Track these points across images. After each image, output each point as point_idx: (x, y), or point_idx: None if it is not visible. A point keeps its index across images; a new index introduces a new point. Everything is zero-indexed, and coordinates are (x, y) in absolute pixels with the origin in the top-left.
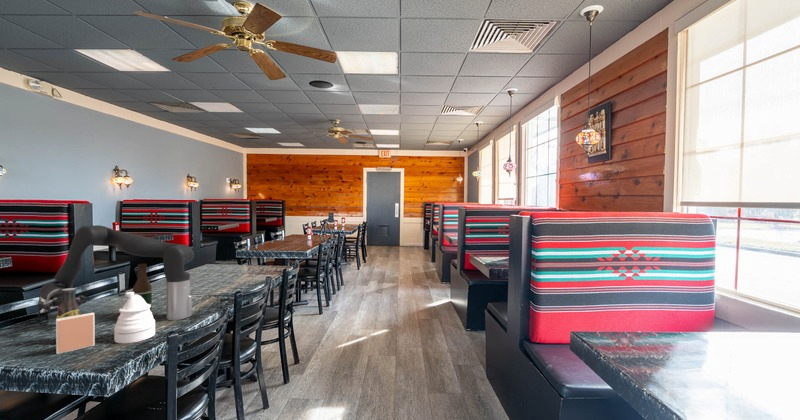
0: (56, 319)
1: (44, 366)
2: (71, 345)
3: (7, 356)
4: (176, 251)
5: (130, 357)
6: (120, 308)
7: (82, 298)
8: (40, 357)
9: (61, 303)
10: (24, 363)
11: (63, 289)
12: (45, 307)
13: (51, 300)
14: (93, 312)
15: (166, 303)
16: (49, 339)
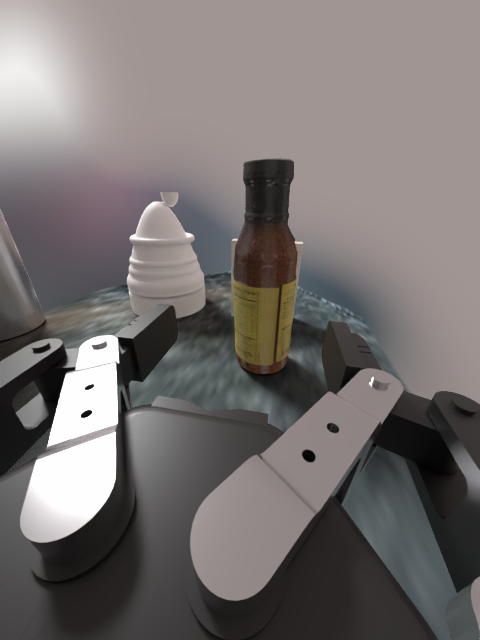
0: (302, 242)
1: (309, 298)
2: None
3: (388, 363)
4: None
5: (227, 274)
6: (183, 237)
7: (63, 351)
8: (317, 321)
9: (288, 227)
10: (338, 317)
11: (287, 159)
12: (358, 341)
13: (340, 404)
14: (232, 240)
15: (2, 284)
16: (301, 416)
